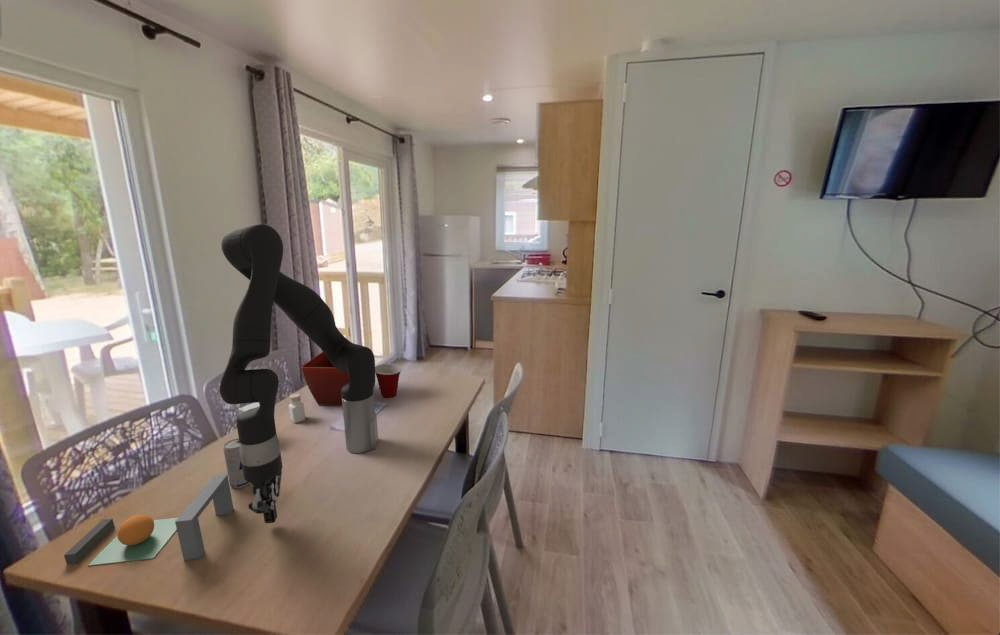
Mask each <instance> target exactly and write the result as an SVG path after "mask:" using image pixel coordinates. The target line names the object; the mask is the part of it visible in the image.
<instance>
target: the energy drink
mask: <svg viewBox="0 0 1000 635" xmlns="http://www.w3.org/2000/svg"><path fill="white" fill-rule="evenodd" d="M223 453H224V459H225V465H226V472H227V475H228V481H229V486H230V488H233V489H242V488H245V487H247V486H249V485H250V484H251V483H250V482H247V481H246V480H245V479H244V474H243V469H242V463H241V457H240V443H239V437H238V438H235V439H231V440H228V441H227V442H225V443H224V445H223Z"/></svg>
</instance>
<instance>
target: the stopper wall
mask: <svg viewBox="0 0 1000 635" xmlns="http://www.w3.org/2000/svg"><path fill="white" fill-rule="evenodd" d="M115 528H116V526H115V522H114V520H113V518H105V519H101V520H100V521H99V522H98V523H97V524H96V525H95V526H94V527H93V528H91V529H90V530H89V531H88V532H87V533H86V534H85V535H84V536H83V537H82V538H80V539H79V540H78V541H77V542H76V543H75V544H74V545H73V546H72V547H71V548H70V549H69V550H68V551H67V552H65V553H64V554H63V557H64V561H65V563H66V565H67V566H69V565H79V563H81V562H82V561H83V560H84V559H85V558H86V557H88V556H89V554H90V553H91V552H92V551H93V550H94V549H96V547H97V546H98V545H99V544H101V542H102V541H103V540H104V539H106V537H107V536H108V535H110V533H111V532H113V530H114V529H115Z"/></svg>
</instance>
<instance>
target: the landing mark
mask: <svg viewBox="0 0 1000 635" xmlns="http://www.w3.org/2000/svg"><path fill="white" fill-rule="evenodd" d="M178 518H179V517H172V518H163V519H153V521H154V530H153V532H152V534H151V535H150V536H149V537H148V538H147V539H146V540H145V541H143V542H142V543H139V544H137V545H131V546H129V545H124V544H122V543H121V542H120V541H119V540H118V536H117V535H116V536H115V537H114V539H112V540H111V541H110V543H108V544H107V545H106V547H105V548H104V549H102V551H100V553H99V554H97V555H96V556H95V558H94V559H92V561H90V562H89V564H88V565H87V566H88V567H92V566H100V565H101V566H103V565H111V564H120V563H127V562H130V563H131V562H136V561H145V560H146V561H147V560H153V559H155V558H156V556H158V554H159V553H160V552H161V550H162V549H163V548H164V547H165V545H167V543H168V542H169V541H170V540H171V538H172V537H173V536H174V535H175V534H176V532H177V528H176V524H175V521H176V520H177V519H178Z"/></svg>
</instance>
